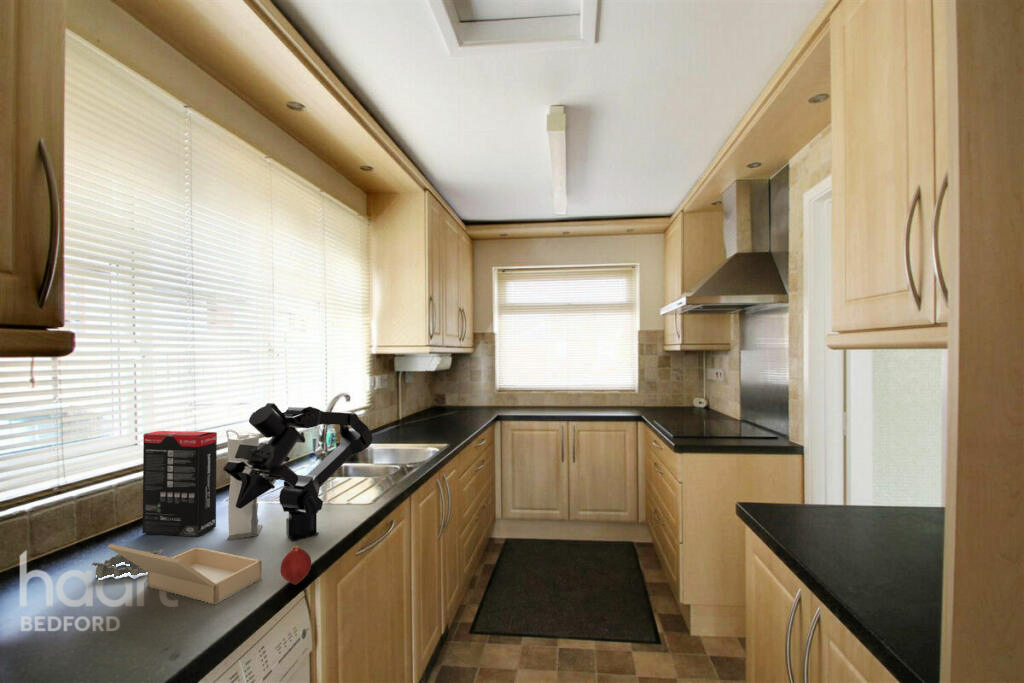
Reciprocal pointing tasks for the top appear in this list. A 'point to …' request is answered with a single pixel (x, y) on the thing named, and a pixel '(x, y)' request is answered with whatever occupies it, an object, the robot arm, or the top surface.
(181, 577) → the lid
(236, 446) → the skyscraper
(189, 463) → the graphics card box
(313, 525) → the robot arm
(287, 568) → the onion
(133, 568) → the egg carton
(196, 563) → the mailer box
